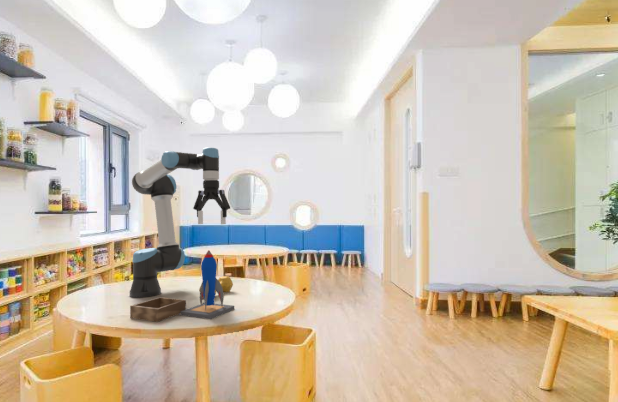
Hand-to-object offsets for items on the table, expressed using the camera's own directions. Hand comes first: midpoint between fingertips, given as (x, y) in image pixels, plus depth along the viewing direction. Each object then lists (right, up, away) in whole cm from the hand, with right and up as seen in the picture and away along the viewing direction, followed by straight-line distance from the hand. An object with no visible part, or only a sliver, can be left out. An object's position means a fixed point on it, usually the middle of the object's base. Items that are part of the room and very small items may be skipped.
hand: (211, 224), depth 188 cm
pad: (+3, -37, -20) cm, 42 cm away
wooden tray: (-17, -37, -23) cm, 47 cm away
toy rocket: (+3, -35, -20) cm, 40 cm away
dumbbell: (0, -37, +12) cm, 39 cm away
